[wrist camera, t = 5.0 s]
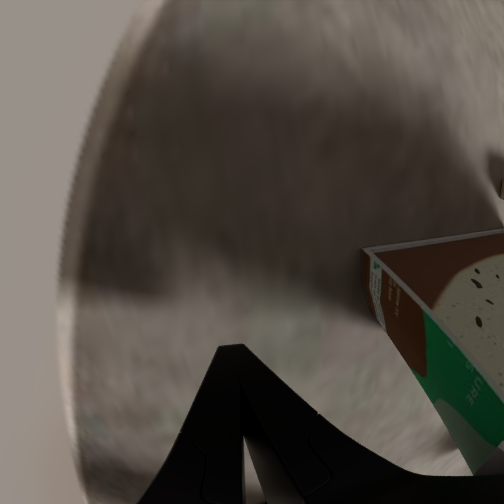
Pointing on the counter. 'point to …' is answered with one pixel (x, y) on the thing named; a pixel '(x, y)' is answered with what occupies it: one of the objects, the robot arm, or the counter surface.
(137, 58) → the counter surface
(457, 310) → the food container
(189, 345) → the counter surface
